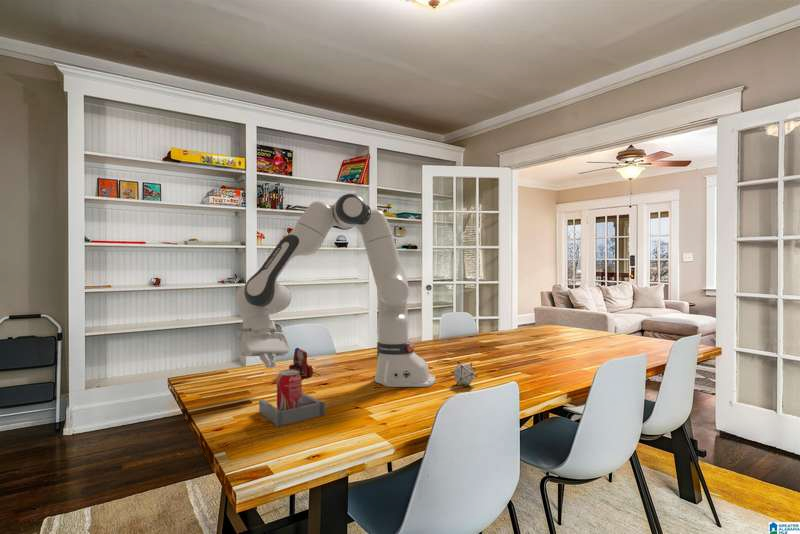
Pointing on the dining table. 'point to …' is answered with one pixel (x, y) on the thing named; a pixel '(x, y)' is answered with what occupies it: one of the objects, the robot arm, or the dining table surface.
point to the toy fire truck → (301, 363)
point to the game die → (464, 374)
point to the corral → (293, 411)
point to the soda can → (289, 390)
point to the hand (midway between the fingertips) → (271, 367)
